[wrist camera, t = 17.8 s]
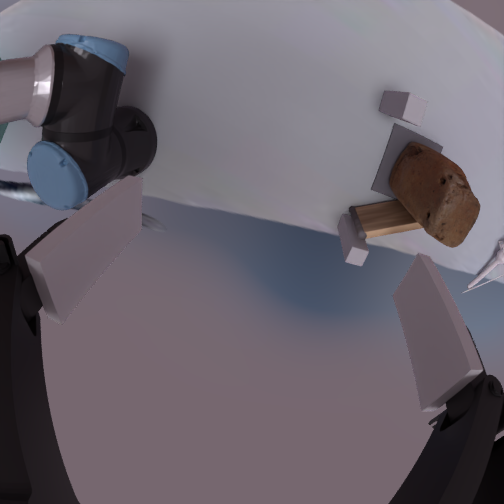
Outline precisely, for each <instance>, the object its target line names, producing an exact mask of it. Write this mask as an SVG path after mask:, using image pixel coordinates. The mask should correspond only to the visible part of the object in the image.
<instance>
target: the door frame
mask: <svg viewBox="0 0 504 504" xmlns="http://www.w3.org/2000/svg"><path fill="white" fill-rule="evenodd" d="M427 104H428V102H427V101H425V100H424V99H422V98H420V97H418V96H416V95H414V94H412V93H409V92H397V91H384V94H383V98H382V101H381V105H380V108H379V111H380V112H383V113H385V114H388V115H390V116H392V117H395V118H398V119H400V120H403V121H406V122H409V123H411V124H414V125H416V126H419V127H421V123H422V120H423V117H424V114H425V111H426V107H427ZM338 231H339V235H340V240H341V244H342V249H343V253H344V258H345V262H348V263H351V264H355V265H359V266H362V264H363V263H364V261H365V259H366V257H367V254H368V253H369V250H368V248H367V244H366V242H365V239H364V240H360V239H359V237H358V234H357V231H356V228H355V225H354V222H353V220H352V217H351V216H349V215H346V214H342V217H341V220H340V222H339V225H338Z"/></svg>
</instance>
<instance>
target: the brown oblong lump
mask: <svg viewBox="0 0 504 504" xmlns="http://www.w3.org/2000/svg"><path fill="white" fill-rule="evenodd" d="M389 184H390V187H391V189H392V191H393V193H394V195H395V196H396V197H397V199H398V200H399V201H400V202H401V203H402V204H403V205H404V207H405V208H406V209H407V211H408V212H409V213H410V214H411V215H412V216H413V218H414V219H415V220H416V221H417V222H418V223H419V224H420V225H421V226H422V227H423V228H424V230H425V231H426V232H427V233H428V234H429V235H431V236H432V237H434V238H435V239H437V240H438V241H439V242H441V243H443V244H444V245H446V246H449V247H452V248H453V247H457V246H458V245H460V244H461V243H462V242H463V241H464V239H465V238H466V236H467V235H468V233H469V231H470V230H471V228H472V227H473V225H474V223H475V222H476V219H477V217H478V214H479V211H480V204H479V201H478V199H477V198H476V197H475V196H474V194H473V192H472V191H471V188H470V185H469V183H468V181H467V179H466V176H465V174H464V172H463V171H462V169H461V168H460V167H459V166H458V165H457V164H455V163H454V162H453V161H451V160H450V159H448V158H447V157H445V156H444V155H442V154H440V153H439V152H437V151H435V150H433V149H431V148H429V147H427V146H425V145H423V144H420V143H416V142H411V143H410V144H409V145H408V146H407V147H406V149H405V150H404V151H403V152H402V153H401V155H400V156H399V158H398V160H397V162H396V163H395V165H394V168H393V170H392V173H391V177H390V181H389Z"/></svg>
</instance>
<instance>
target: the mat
mask: <svg viewBox="0 0 504 504" xmlns="http://www.w3.org/2000/svg"><path fill="white" fill-rule="evenodd" d="M411 142H416V143H420V144H423V145H425V146H427V147H429V148H431V149H433V150H435V151H437V152H439V153H440V154H441V151H442V148H443V147H442V146H440V145H439V144H437V143H435V142H433V141H431V140H429V139H427V138H425V137H423V136H421V135H419V134H417V133H415V132H413V131H411V130H409V129H406V128H404V127H402V126H400V125H398V124H395V123H394V126H393V129H392V133H391V136H390V139H389V141H388V144H387V147H386V150H385V153H384V156H383V159H382V161H381V164H380V167H379V170H378V172H377V175H376V178H375V180H374V183H373V185H372V188H371V190H373V191H376V192H379V193H382V194H384V195H387V196H390V197H392V198H395V199H397V197H396V196H395V195H394V193H393V191H392V189H391V187H390V184H389V181H390V177H391V173H392V170H393V168H394V165H395V163H396V162H397V160H398V158H399V156H400V155H401V153H402V152H403V151H404V150H405V149H406V147H407V146H408V145H409V144H410V143H411ZM397 200H398V199H397Z"/></svg>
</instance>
